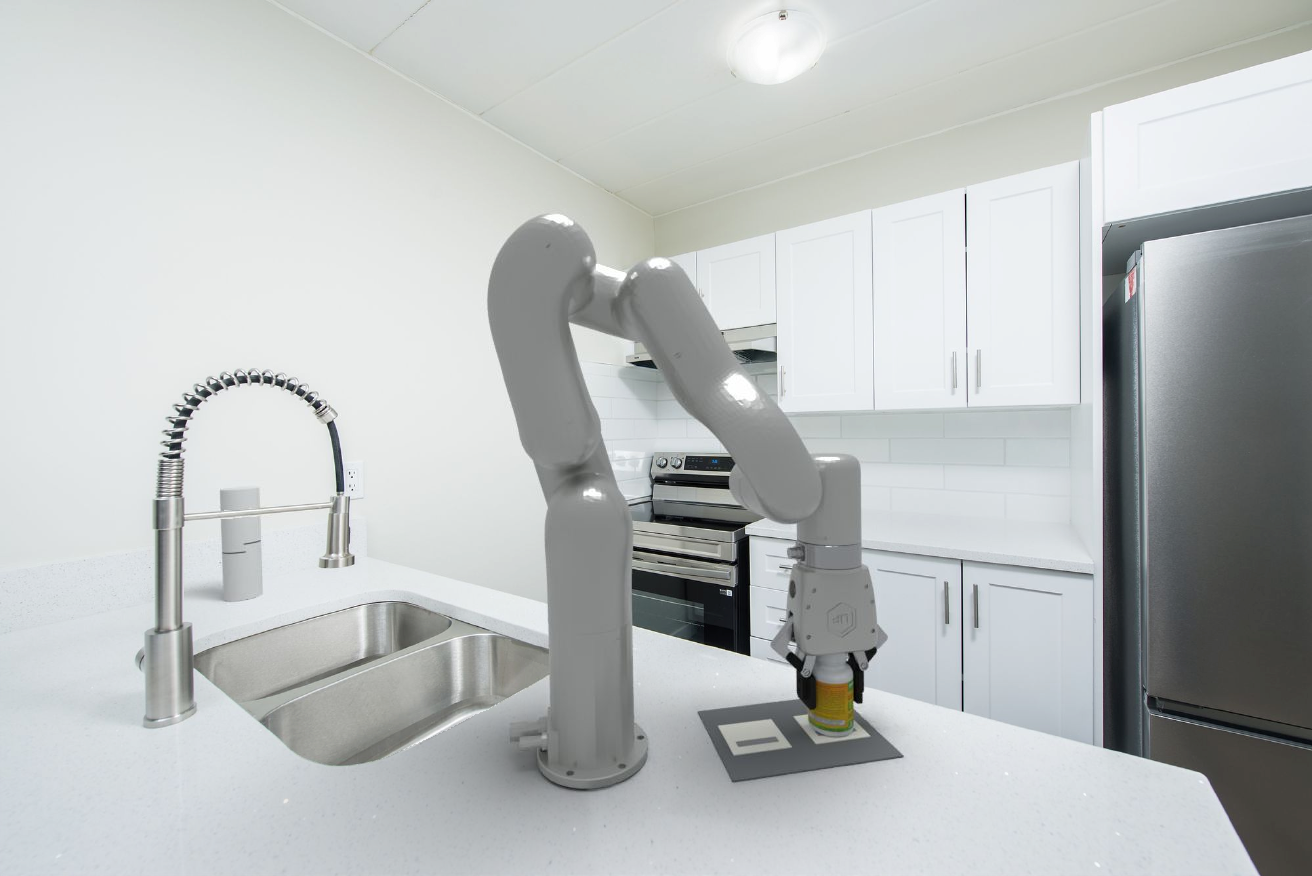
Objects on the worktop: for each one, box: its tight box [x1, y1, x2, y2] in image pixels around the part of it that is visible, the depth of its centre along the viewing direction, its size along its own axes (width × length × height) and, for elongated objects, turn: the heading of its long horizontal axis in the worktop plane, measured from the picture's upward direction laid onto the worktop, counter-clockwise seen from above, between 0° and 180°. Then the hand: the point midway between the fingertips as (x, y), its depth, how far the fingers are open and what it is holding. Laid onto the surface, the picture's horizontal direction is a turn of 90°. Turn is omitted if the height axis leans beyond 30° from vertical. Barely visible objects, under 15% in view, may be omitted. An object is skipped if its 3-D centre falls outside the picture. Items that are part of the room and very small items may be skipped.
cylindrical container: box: [219, 486, 264, 602], centre depth 123 cm, size 7×7×25 cm
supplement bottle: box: [808, 653, 855, 737], centre depth 65 cm, size 5×5×10 cm
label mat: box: [697, 698, 905, 783], centre depth 65 cm, size 20×14×1 cm
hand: (830, 699), depth 65 cm, fingers closed on supplement bottle, 5 cm apart
